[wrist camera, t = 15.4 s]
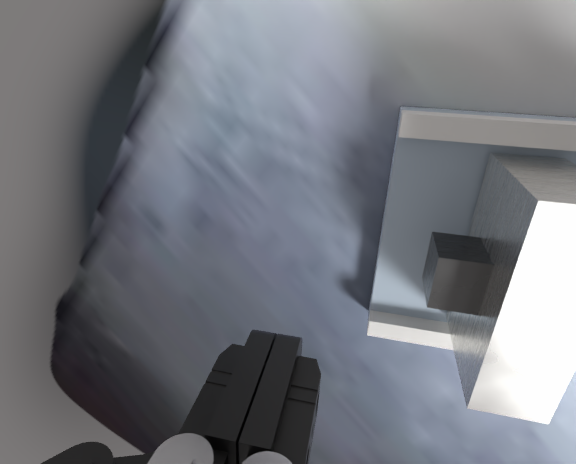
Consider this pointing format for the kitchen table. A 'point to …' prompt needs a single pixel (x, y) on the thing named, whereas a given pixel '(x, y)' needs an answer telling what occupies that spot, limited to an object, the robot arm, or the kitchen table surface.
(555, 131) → the vise body
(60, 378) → the kitchen table surface
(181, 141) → the kitchen table surface
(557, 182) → the block
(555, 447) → the kitchen table surface
